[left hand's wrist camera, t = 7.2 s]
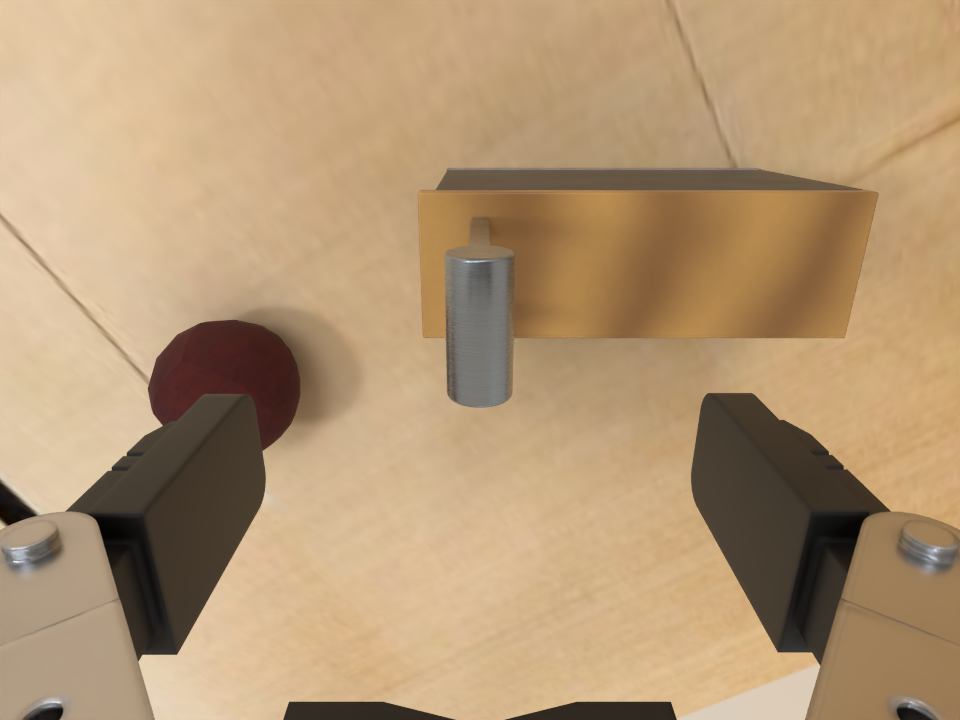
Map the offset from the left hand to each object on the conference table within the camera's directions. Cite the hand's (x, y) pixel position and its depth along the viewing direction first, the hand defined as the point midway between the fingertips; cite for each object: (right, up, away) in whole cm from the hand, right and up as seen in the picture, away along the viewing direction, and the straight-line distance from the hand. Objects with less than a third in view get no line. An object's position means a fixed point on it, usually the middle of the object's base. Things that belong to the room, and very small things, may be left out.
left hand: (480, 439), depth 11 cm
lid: (+6, +5, +13) cm, 16 cm away
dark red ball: (-14, +1, +26) cm, 29 cm away
